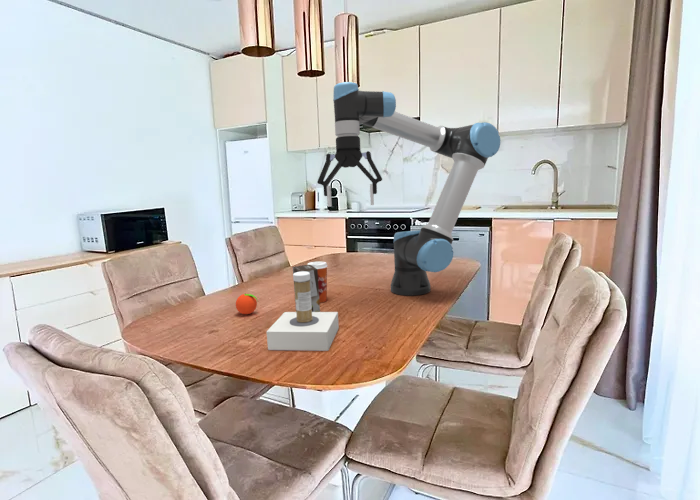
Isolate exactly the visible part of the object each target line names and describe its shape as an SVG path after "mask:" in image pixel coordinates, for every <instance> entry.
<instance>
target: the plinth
mask: <svg viewBox="0 0 700 500" xmlns="http://www.w3.org/2000/svg"><path fill="white" fill-rule="evenodd" d="M312 317H313V319H312V321H310V322H304V323H301V322H298V321H297V320H296V319H297V314H296V311H285V312H283V313H282V314H281V315H280V316H279V317H278V319H277V320H275V322H274V323H273V324H272V325H270V327H269V328H268V329H267V330H266V341H267V344H266V345H267V350H268V351H310V352H311V351H315V352H316V351H318V352H319V351H321V352H322V351H323V352H326V351H329V350H330V348H331V345H332V343H333V341H334V339H335V337H336V335H337V333H338V331H339V328H340V327H339V311H320V312H312Z"/></svg>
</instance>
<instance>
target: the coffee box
mask: <svg viewBox="0 0 700 500" xmlns="http://www.w3.org/2000/svg"><path fill="white" fill-rule="evenodd" d="M302 271H306V272H309V273H310V290H311V302H312V312H321V307H320V306H321V303H320V301H319V285H318V269H316V268H315V267H313V266H312V265H307V264H303V265H298V266H296V265H295V266H292V275H293V274H294V273H296V272H302ZM293 289H294V292H293V293H295V286H294V285H293ZM294 304H295V306H296V303H295V302H294Z"/></svg>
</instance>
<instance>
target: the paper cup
mask: <svg viewBox="0 0 700 500" xmlns="http://www.w3.org/2000/svg"><path fill="white" fill-rule="evenodd" d="M306 265H312V266H313V267H315V268H316V269H318V285H319V301H320V304H321V303H325V302H327V301H328V299H327V297H328V267H329V266H328V264H327V262H326V261H319V260H318V261H310V262H308V263H307V264H306Z"/></svg>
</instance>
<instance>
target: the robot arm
mask: <svg viewBox="0 0 700 500" xmlns="http://www.w3.org/2000/svg"><path fill="white" fill-rule="evenodd" d="M359 89H360V88H359V85H358V83H356V82H351V81H343V82H339V83H336V84H335V85H334V87H333V110H334V111H333V112H334V113H333V114H334V133H335V137H336V138H335V148H336V149H335V154H331V153H327V154H326V155H325V162H324V164H323V168H322V169H321V172H320V174H319V177H318V179H317V184H318V185H321V186H323V196H324V197H326V198H327V207H328V208H329V207H333V204H332V203H333V202H332V188H331V187H332V186H331V185H329V184H330V183H331V182H332V180H333V179H334V177H336V175H337V173H338V172H339V171H340V170H341V168H355V167H357V168H358V169H359V170H361V172H362V173H363V174H364V176H366V178H368V180H370V182H371V183H370V184H369V192H370V193H369V195H370V206H374V205H375V202H374V200H375V199H374V198H375V197H374V195H377V194H378V190H377V189H378V187H377V185H378V183H379V182H382V181H383V177H382V175H381V174H380V171H379V170H378V168H377V166H376V164H375V162H374V161H373V158H372V153H371V152H370V151H368V150H367V151H366V152H362V150H361V137H360V136H359V135H361V134H360V133H361V131H360V130H361V129H360V126H361V125H362V126H366V127H370V128H373V129H376V130H377V131H378V130H379V131H382V132H385V133H387V134H390V135H394V136H396V137H399V138H402V139H405V140H408V141H411V142H413V143H416V144H419V145H422V146H424V147H428V148H429V150H430V151H431V152H433V153H436V154H439V155H441V156H445V157H447V158H451V159H453V164H452V167H451V169H450V171H449V174H448V175H447V178H446V181H445V183H444V186H443V188H442V189H441V192H440V195H439V197H438V199H437V202H436V205H435V207H434V209H433V212H432V214H431V216H430V218H429V220H428V223H427V224H425V225H423V226H422V227H421V228H420V230H419V229H418V230H406V231H397V232H395V233H394V235H393V257H394V258H393V261H394V263H393V264H394V272H393V274H392V275H393V276H392V279H391V282H390V292H391V293H393V294H395V295H399V296H420V295H425V294H429V293H430V292H431V283H430V280H429V276H428V274H427V272H428V273H429V272H430V273H439V272H441V271H444V270H445V269H447V268H448V267H449V266H450V264H451V263H452V262H453V258H454V251H453V249H454V248H453V245H452V243H453V241H454V238H453V235H452V234H453V233H452V232H453V231H454V227H455V226H456V223H457V220H458V218H459V216H460V214H461V212H462V210H463V206H464V205H465V202H466V199H467V197H468V195H469V193H470V190H471V188H472V185H473V183H474V181H475V178H476V177H477V173H478V171H479V170H482V169H484V168H485V166H486V164H487V161H488V160H489V158H492V157H493V156H495V155H496V154H497V153H498V152H499V150H500V146H501V136H500V134H499V131H498V129H497V127H495V125H494V124H492V123H490V122H475V123H474V124H469V125H465V126H460V127H446V126H443V125H439V126H435V125H433V124H430V123H427V122H424V121H421V120H418V119H416V118H413V117H410V116H408V115H405V114H402V113H400V112H397V111H396V107H397V99H396V96H395V94H394V93H393V92H389V91H383V90H382V91H370V90H369V91H367V90H365V91H363V90H359ZM363 157H364V159H365V160H366V161H367V162H368V164H369V167H370V169H371V170H372V172H373V173H374V175H375V177H376V178H375V177H374V176H373V175H372V174H371V172H369V171H368V170H367V168H366V167H365V166H364V165H363V164H362V163H361V162H360V161H361V159H362V158H363ZM334 160H336V161H337V163H336V164H335V166H334V168H333V169H332V171H331V172H330V173H329V175H328V176H327V173H328V170H329V168H330V166H331V163H332V162H333V161H334ZM326 176H327V178H326ZM325 178H326V179H325Z"/></svg>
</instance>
